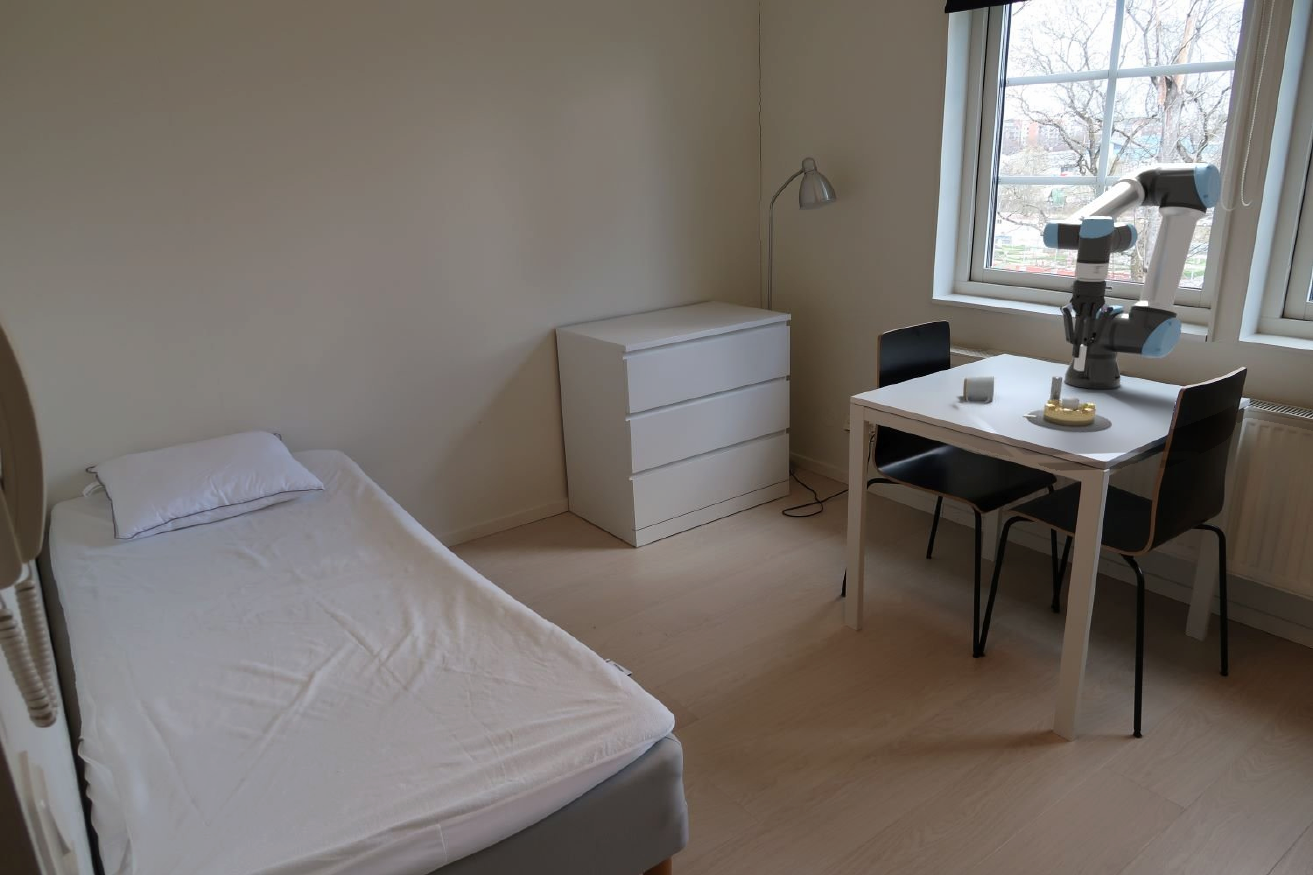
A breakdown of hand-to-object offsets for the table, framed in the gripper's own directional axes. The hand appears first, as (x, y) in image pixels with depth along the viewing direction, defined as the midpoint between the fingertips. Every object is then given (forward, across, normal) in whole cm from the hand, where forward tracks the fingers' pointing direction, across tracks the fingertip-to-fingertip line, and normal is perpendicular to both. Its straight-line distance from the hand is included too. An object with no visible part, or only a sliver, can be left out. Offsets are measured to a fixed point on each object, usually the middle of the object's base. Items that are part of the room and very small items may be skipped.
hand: (1078, 369), depth 230 cm
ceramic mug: (+13, -20, +14) cm, 28 cm away
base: (+13, -5, -9) cm, 16 cm away
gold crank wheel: (+11, -5, -7) cm, 14 cm away
